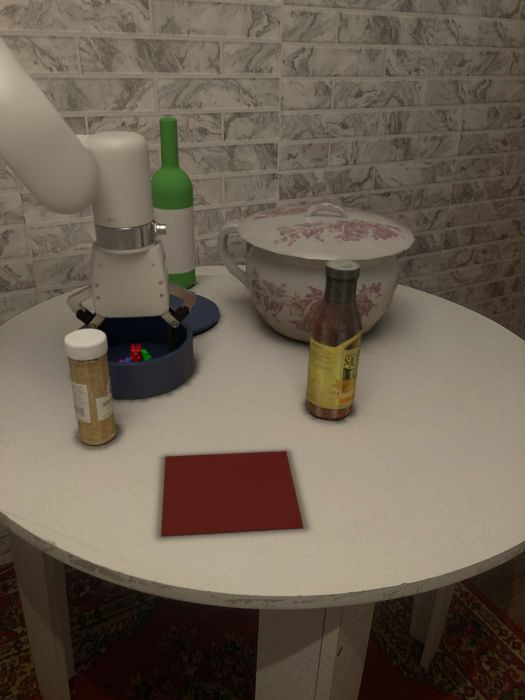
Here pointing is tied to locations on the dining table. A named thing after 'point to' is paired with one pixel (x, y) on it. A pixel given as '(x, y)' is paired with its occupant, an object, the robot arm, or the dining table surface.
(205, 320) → the lid
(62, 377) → the dining table surface
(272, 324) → the chamber pot
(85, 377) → the spice jar
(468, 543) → the dining table surface
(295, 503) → the cloth
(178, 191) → the wine bottle
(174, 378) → the pan
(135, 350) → the gummy candies
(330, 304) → the sauce bottle
